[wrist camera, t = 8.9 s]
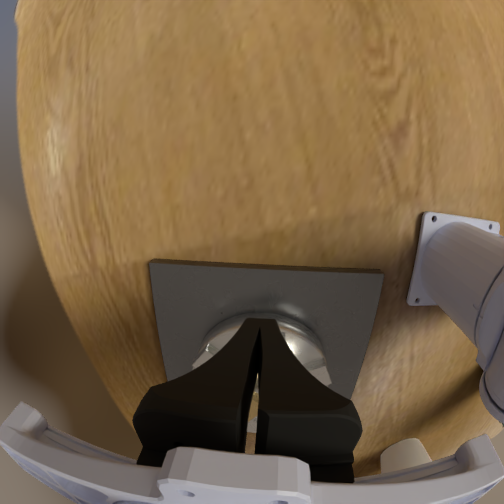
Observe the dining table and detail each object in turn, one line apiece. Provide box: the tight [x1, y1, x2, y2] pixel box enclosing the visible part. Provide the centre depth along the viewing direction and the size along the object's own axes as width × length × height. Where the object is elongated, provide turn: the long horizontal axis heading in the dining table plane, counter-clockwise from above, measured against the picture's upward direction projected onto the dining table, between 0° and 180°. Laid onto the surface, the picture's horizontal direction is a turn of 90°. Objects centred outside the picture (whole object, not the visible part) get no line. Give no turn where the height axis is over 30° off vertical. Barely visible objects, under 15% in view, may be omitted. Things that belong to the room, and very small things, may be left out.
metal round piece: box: [192, 313, 332, 433], centre depth 20 cm, size 15×11×7 cm
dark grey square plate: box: [149, 259, 384, 400], centre depth 23 cm, size 18×18×1 cm
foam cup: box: [380, 438, 432, 474], centre depth 22 cm, size 10×9×13 cm
